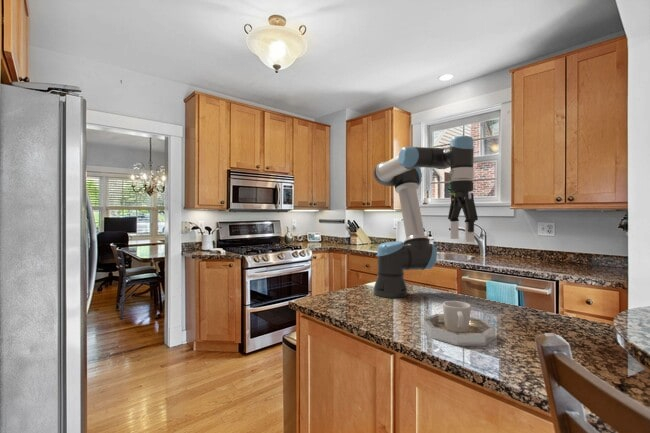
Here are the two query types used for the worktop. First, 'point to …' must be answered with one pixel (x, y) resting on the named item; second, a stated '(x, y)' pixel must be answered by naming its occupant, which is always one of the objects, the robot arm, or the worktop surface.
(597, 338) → the worktop surface
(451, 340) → the octagonal tray
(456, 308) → the cup
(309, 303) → the worktop surface
